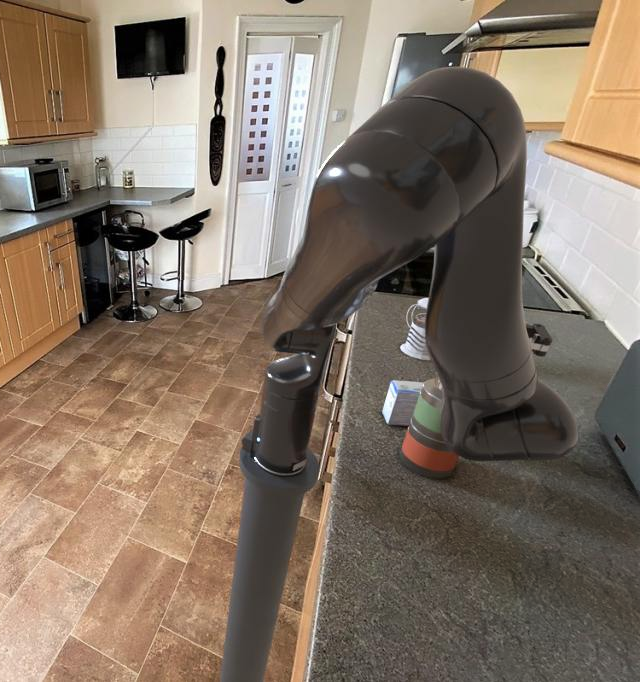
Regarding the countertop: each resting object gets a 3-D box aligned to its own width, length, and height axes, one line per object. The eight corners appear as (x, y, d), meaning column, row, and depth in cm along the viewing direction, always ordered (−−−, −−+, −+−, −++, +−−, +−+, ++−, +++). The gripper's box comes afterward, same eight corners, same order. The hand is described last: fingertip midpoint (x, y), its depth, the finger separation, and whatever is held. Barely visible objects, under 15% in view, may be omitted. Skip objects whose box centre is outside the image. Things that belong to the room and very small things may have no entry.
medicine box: (421, 416, 92) (433, 382, 88) (429, 429, 89) (442, 395, 85) (381, 412, 94) (391, 379, 90) (387, 425, 90) (397, 391, 86)
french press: (420, 362, 112) (450, 270, 100) (386, 342, 122) (410, 256, 110) (451, 357, 113) (485, 265, 102) (416, 337, 124) (442, 252, 112)
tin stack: (393, 463, 81) (417, 393, 73) (405, 440, 86) (428, 372, 79) (448, 486, 75) (479, 413, 68) (457, 460, 81) (487, 389, 73)
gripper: (576, 343, 51) (550, 298, 63) (432, 319, 58) (433, 283, 70) (550, 396, 54) (529, 343, 67) (417, 367, 61) (420, 324, 74)
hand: (480, 312), depth 68 cm, fingers closed on beer glass, 7 cm apart
